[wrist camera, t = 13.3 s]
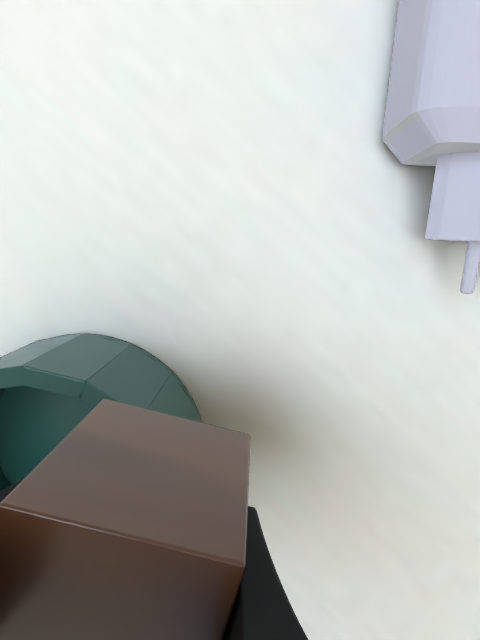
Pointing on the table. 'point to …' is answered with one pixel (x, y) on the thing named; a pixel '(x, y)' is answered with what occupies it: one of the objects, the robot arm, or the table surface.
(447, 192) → the charger
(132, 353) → the tin
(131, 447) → the block
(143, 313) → the table surface
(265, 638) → the robot arm
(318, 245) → the table surface
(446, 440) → the table surface
